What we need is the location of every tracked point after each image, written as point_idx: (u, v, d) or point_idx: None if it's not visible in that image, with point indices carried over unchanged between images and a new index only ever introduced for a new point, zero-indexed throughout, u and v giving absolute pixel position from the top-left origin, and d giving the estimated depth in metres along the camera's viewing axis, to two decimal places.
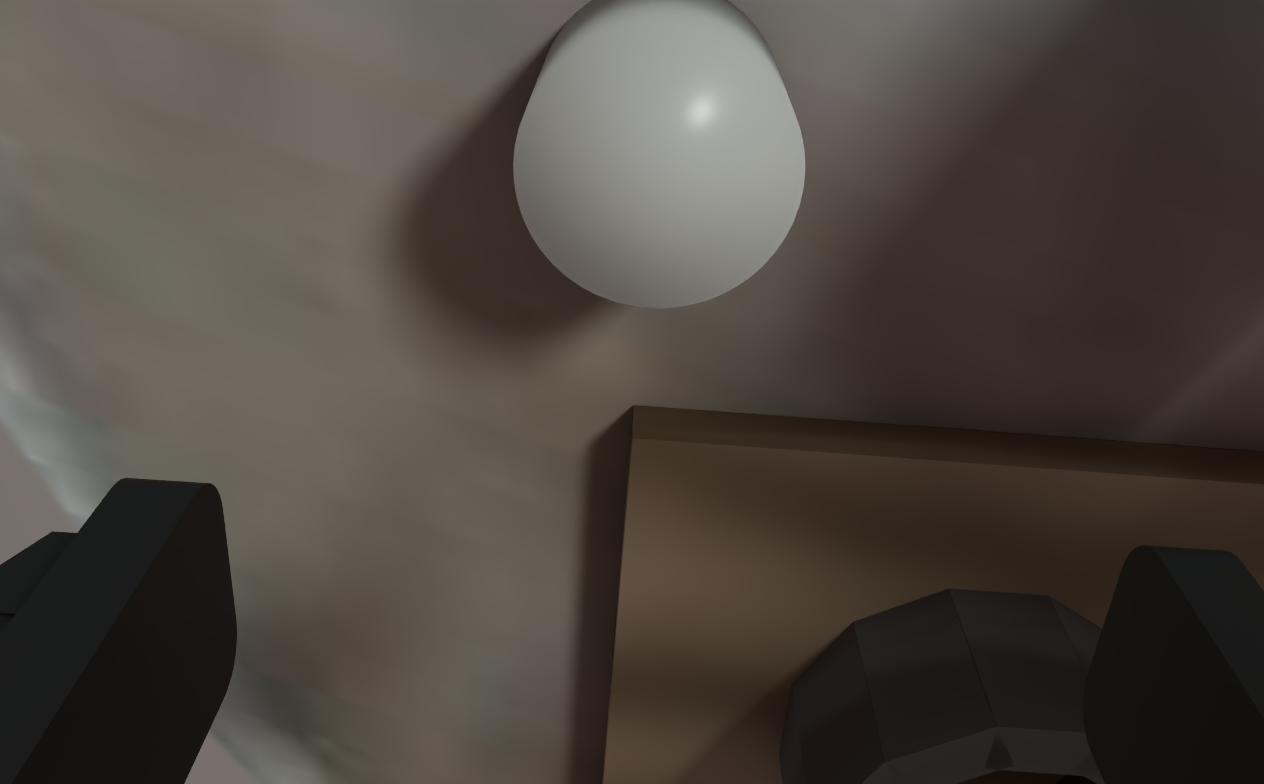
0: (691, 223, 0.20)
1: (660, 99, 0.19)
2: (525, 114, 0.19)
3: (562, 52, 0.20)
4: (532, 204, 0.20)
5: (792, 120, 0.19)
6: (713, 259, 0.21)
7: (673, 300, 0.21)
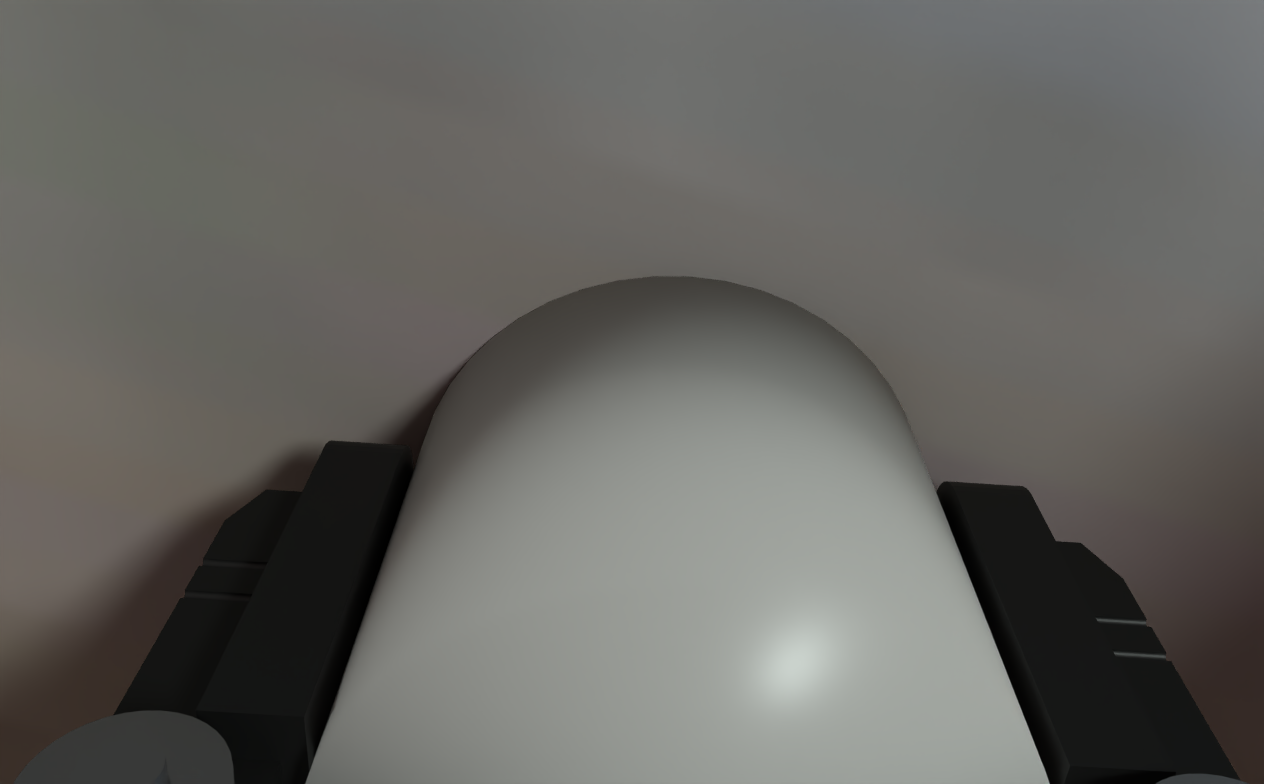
0: None
1: (681, 744, 0.07)
2: (313, 777, 0.07)
3: (419, 578, 0.08)
4: None
5: None
6: None
7: None
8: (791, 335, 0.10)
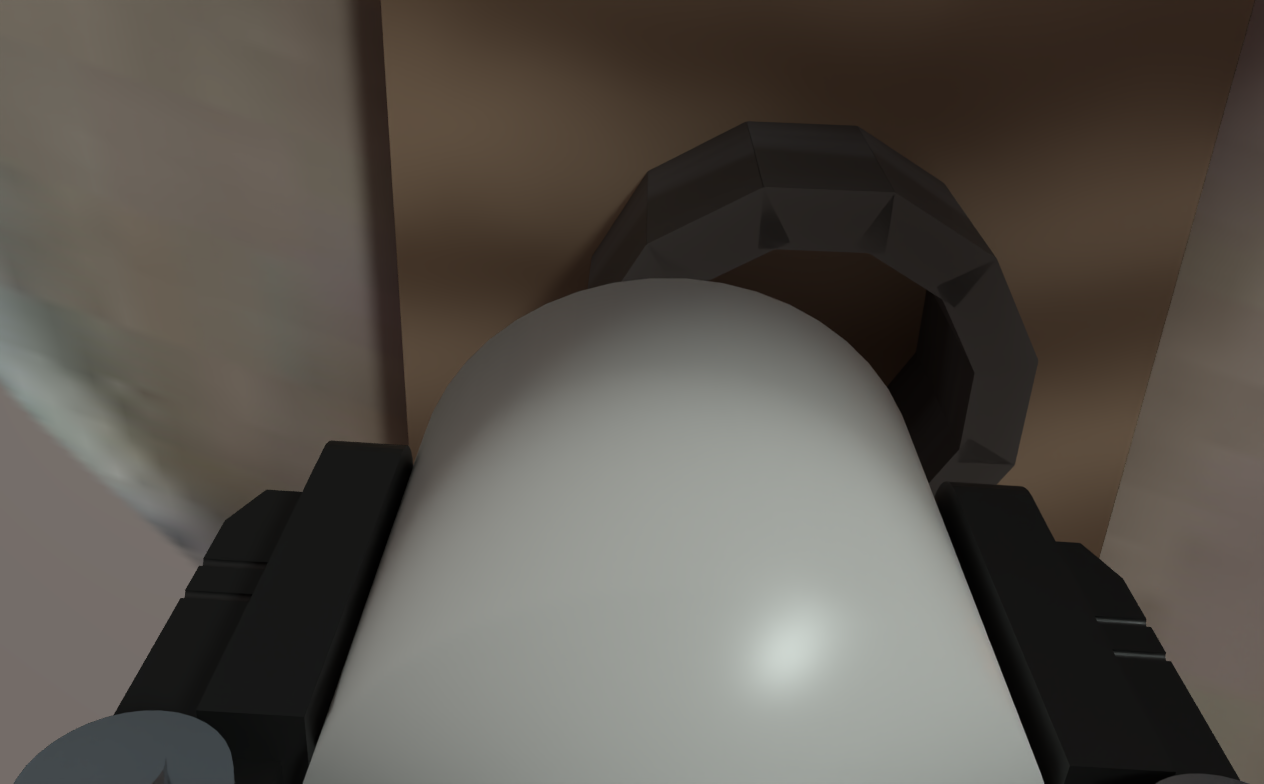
0: None
1: (676, 746, 0.07)
2: (309, 779, 0.07)
3: (416, 581, 0.08)
4: None
5: None
6: None
7: None
8: (787, 337, 0.10)
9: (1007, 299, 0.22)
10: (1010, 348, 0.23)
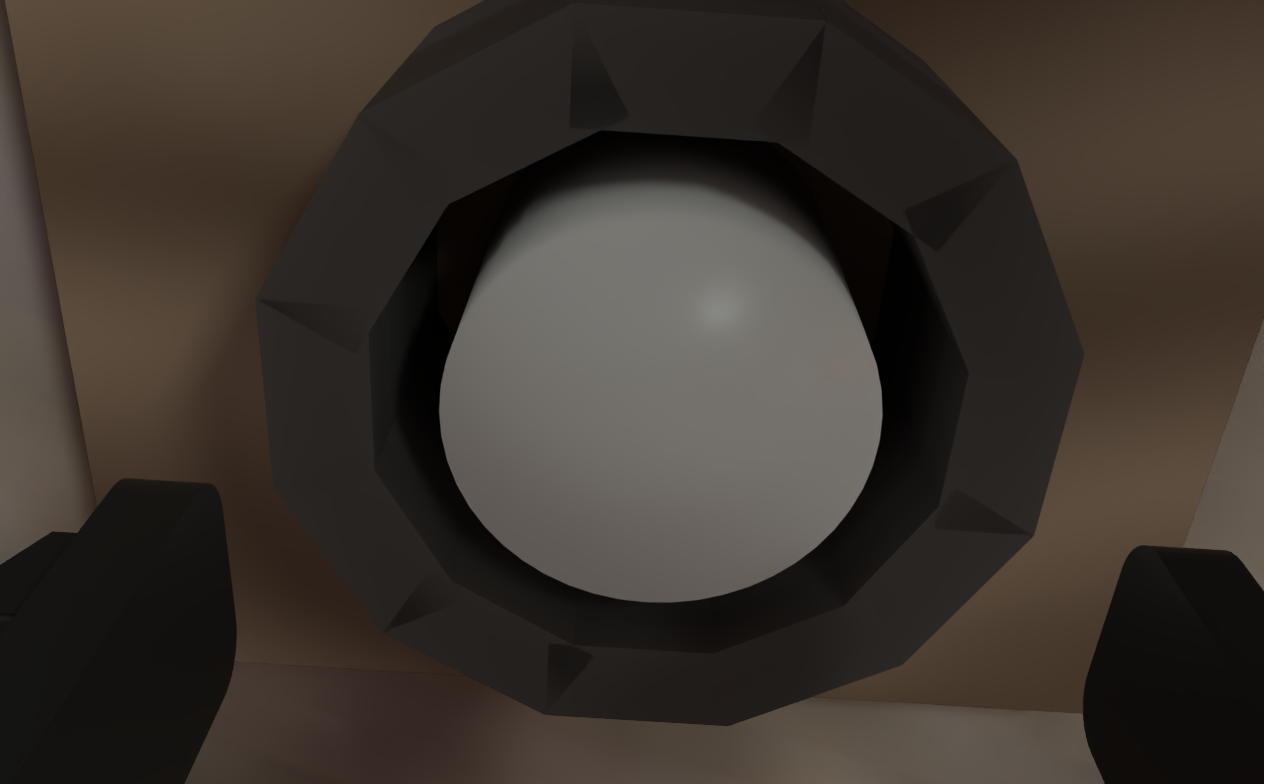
0: (709, 491, 0.14)
1: (661, 321, 0.13)
2: (455, 344, 0.13)
3: (512, 243, 0.13)
4: (470, 466, 0.13)
5: (864, 349, 0.13)
6: (742, 538, 0.14)
7: (683, 592, 0.14)
8: None
9: (1033, 238, 0.12)
10: (1035, 330, 0.13)
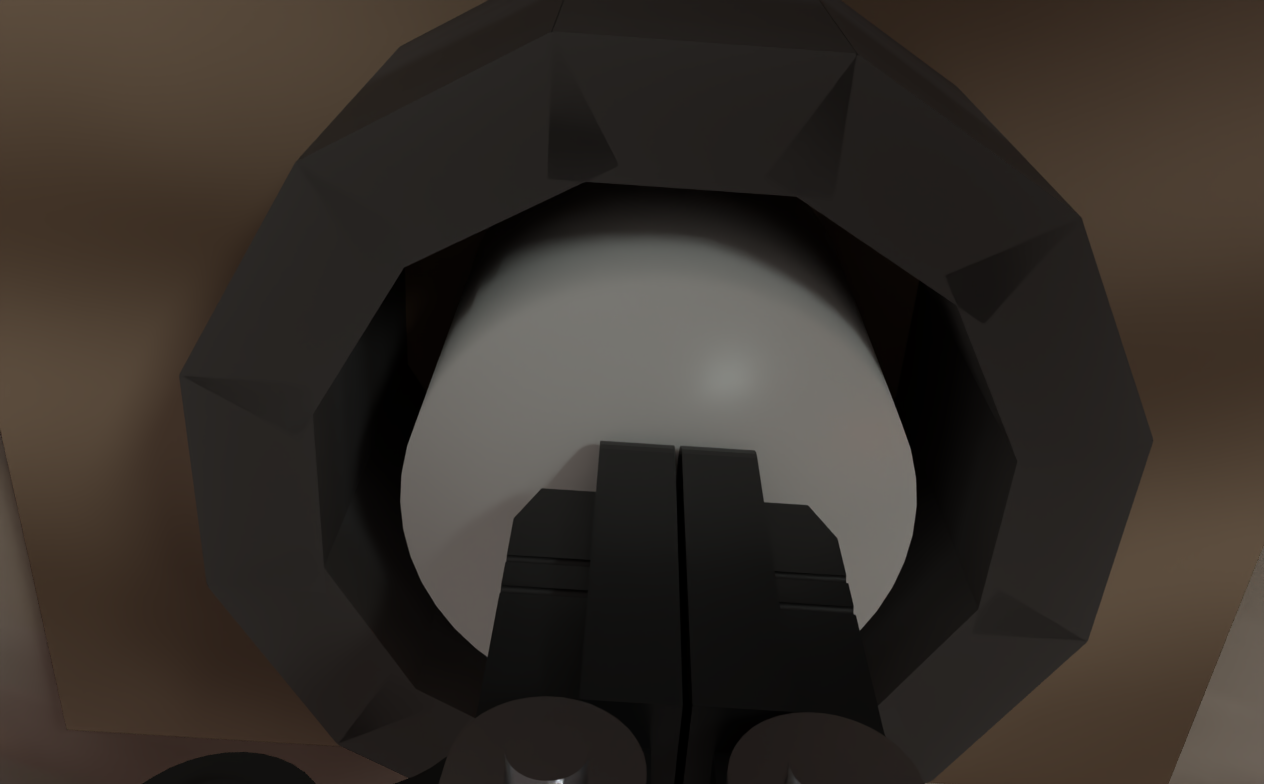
0: None
1: (660, 401, 0.11)
2: (417, 426, 0.11)
3: (485, 305, 0.11)
4: (437, 562, 0.12)
5: (896, 433, 0.11)
6: None
7: None
8: None
9: (1097, 308, 0.10)
10: (1096, 413, 0.11)
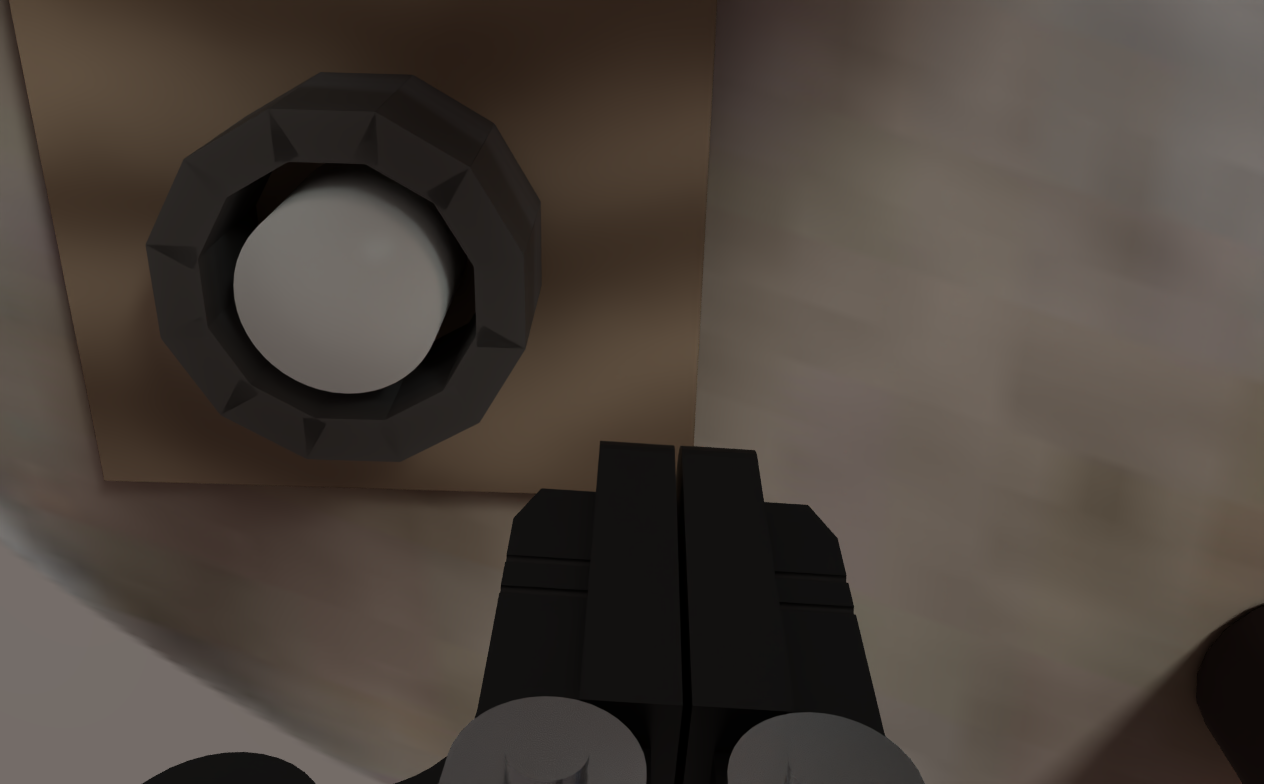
0: (366, 333, 0.28)
1: (329, 249, 0.28)
2: (237, 264, 0.28)
3: None
4: (252, 324, 0.28)
5: (423, 259, 0.28)
6: (386, 357, 0.29)
7: (364, 387, 0.29)
8: None
9: (486, 202, 0.27)
10: (498, 245, 0.27)
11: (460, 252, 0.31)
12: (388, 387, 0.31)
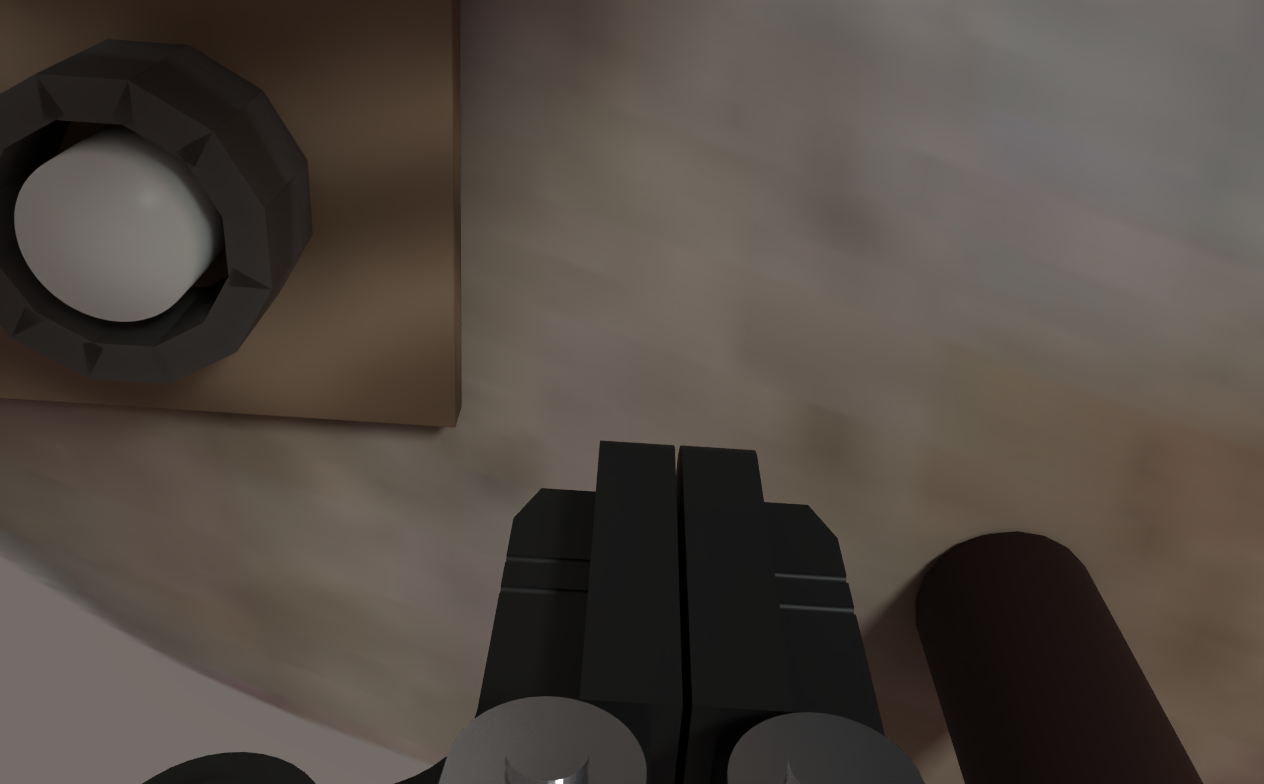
0: (132, 269, 0.33)
1: (94, 195, 0.32)
2: (15, 206, 0.32)
3: None
4: (33, 259, 0.33)
5: (176, 206, 0.32)
6: (152, 290, 0.33)
7: (134, 316, 0.34)
8: None
9: (229, 161, 0.31)
10: (242, 199, 0.32)
11: None
12: (168, 319, 0.36)
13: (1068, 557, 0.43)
